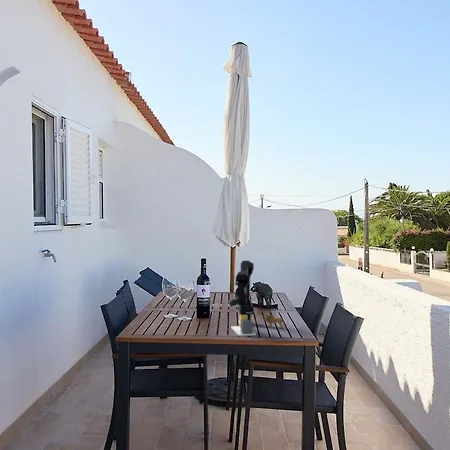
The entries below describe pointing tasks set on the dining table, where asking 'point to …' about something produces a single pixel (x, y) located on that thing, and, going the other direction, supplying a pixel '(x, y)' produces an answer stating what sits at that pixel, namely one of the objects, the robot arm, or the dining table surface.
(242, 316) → the yellow pegged block
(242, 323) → the cord rail
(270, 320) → the lion figurine
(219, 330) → the dining table surface
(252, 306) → the robot arm
